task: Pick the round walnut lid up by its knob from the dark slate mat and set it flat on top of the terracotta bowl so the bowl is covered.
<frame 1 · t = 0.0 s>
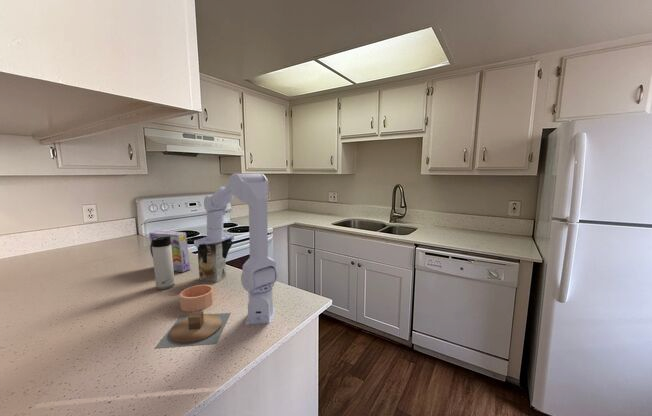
hand: (214, 259, 102), 11 cm above the countertop, tool pointing down, fingers open, 7 cm apart
coffee box: (213, 278, 111), on the countertop
travel mug: (166, 287, 103), on the countertop
lid: (196, 328, 74), point 1 cm above the countertop, touching mat
mat: (197, 330, 74), on the countertop
bowl: (198, 305, 88), on the countertop
cake pan box: (171, 269, 122), on the countertop
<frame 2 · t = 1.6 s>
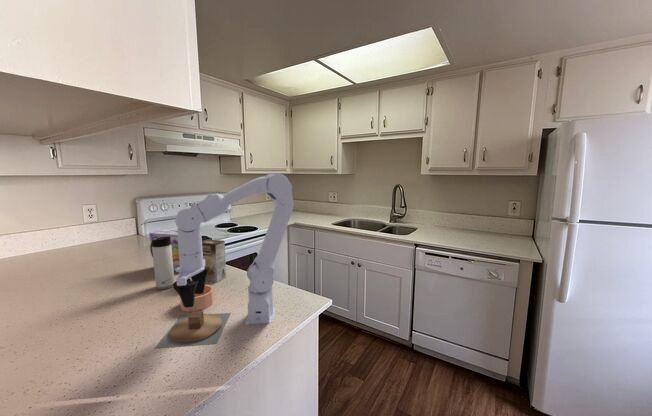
hand: (194, 299, 73), 9 cm above the countertop, tool pointing down, fingers open, 7 cm apart
nothing on the countertop moved.
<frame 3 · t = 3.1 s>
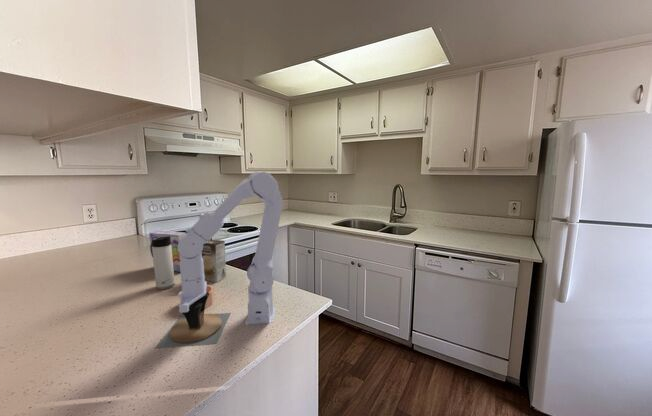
hand: (196, 323, 74), 2 cm above the countertop, tool pointing down, fingers closed on lid, 3 cm apart
lid: (196, 328, 74), point 1 cm above the countertop, touching gripper, mat
everything else where it was.
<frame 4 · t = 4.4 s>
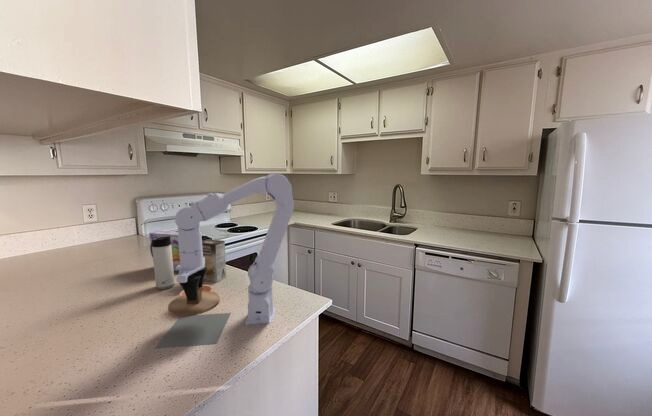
hand: (194, 296, 74), 9 cm above the countertop, tool pointing down, fingers closed on lid, 3 cm apart
lid: (194, 304, 74), point 7 cm above the countertop, touching gripper
everything else where it was.
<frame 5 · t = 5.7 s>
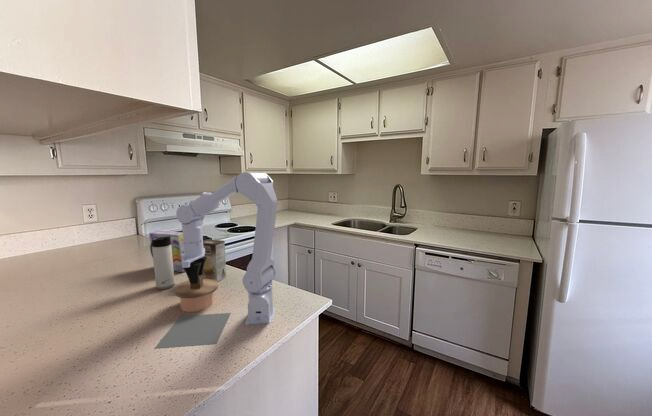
hand: (196, 281, 87), 8 cm above the countertop, tool pointing down, fingers closed on lid, 3 cm apart
lid: (197, 289, 88), point 6 cm above the countertop, touching gripper
everything else where it was.
when the fingers open (8 cm above the countertop, at t = 6.1 s): lid stays where it is, resting on bowl.
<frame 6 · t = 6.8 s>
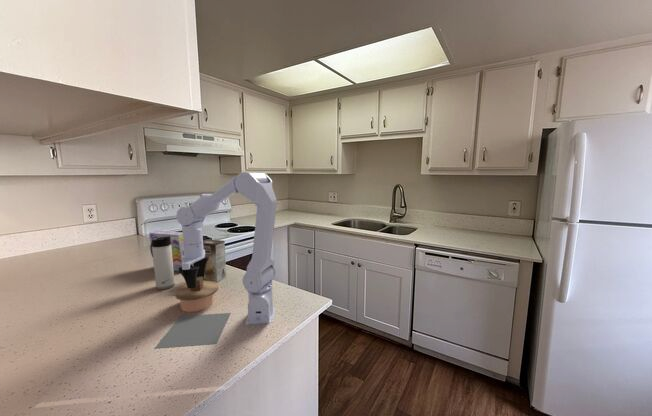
hand: (196, 282, 87), 8 cm above the countertop, tool pointing down, fingers open, 7 cm apart
lid: (197, 291, 88), point 5 cm above the countertop, touching bowl
everything else where it was.
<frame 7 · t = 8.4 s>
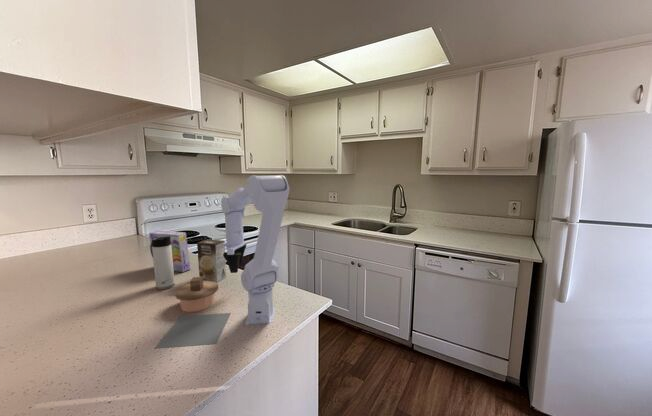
hand: (236, 268, 93), 10 cm above the countertop, tool pointing down, fingers open, 7 cm apart
nothing on the countertop moved.
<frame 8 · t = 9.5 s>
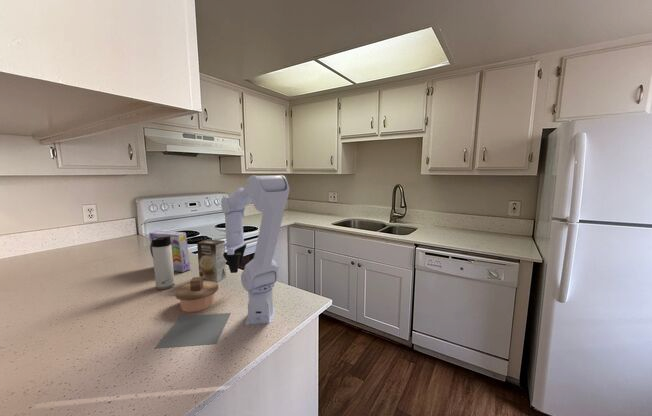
hand: (236, 268, 93), 10 cm above the countertop, tool pointing down, fingers open, 7 cm apart
nothing on the countertop moved.
at the end: lid 0.1 cm off-centre on the bowl, point 5.0 cm above the bowl's base; lid tilted 0°; the gripper is holding nothing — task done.
